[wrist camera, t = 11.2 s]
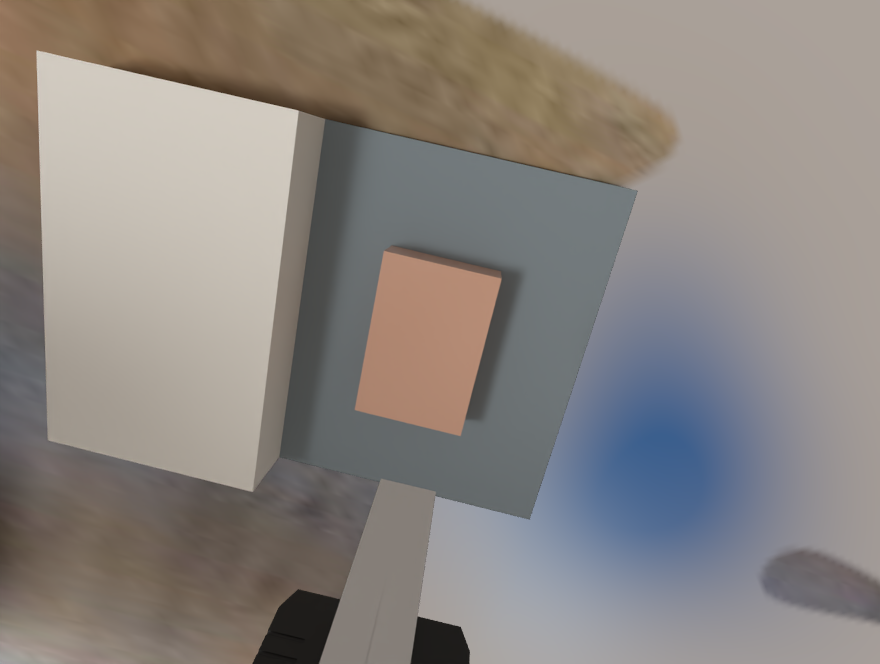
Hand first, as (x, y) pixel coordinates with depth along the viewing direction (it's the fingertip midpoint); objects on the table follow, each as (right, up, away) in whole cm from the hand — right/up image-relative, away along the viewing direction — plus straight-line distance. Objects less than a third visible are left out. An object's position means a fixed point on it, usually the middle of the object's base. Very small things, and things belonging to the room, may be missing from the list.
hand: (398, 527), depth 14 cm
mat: (+1, +5, +15) cm, 16 cm away
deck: (-13, +8, +15) cm, 22 cm away
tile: (0, +4, +13) cm, 14 cm away
